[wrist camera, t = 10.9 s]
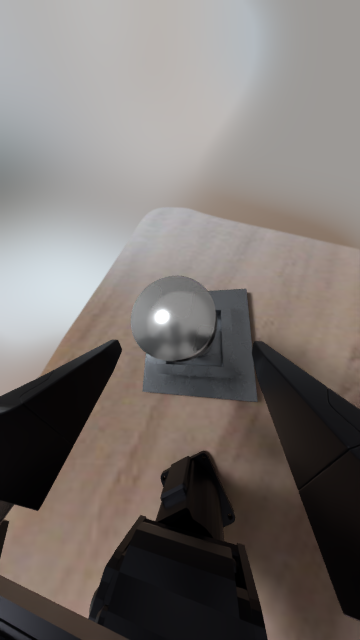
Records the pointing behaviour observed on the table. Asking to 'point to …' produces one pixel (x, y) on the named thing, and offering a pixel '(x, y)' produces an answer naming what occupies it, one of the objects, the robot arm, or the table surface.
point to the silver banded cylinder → (174, 319)
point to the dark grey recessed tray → (213, 358)
